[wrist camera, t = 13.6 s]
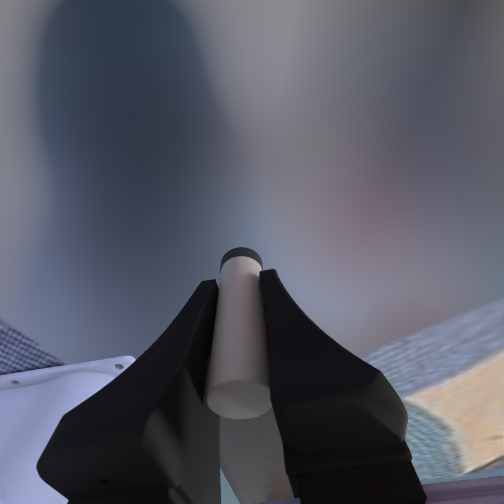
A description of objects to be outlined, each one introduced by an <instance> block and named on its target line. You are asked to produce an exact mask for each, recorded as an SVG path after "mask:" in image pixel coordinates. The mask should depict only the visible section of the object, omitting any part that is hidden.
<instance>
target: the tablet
mask: <svg viewBox="0 0 504 504" xmlns="http://www.w3.org/2000/svg"><path fill="white" fill-rule="evenodd" d="M220 468H221V469H222V471H223V473H224V475H225V477H226V478H227V480H228V482H229V484H230V486H231V487H232V490H233V491H234V493H235V495H236V497H237V499H238V500H239V502H240V504H250V503H259V502H268V501H278V500H287V499H294V496H293V492H292V489H291V485H290V482H289V478H288V475H286V471H285V463H284V454H283V445H282V440H281V437H280V433H279V429H278V426H277V422H276V419H275V415H274V411H273V408H272V407H271V408H270V409H269V410H268V411H267V412H266V413H264V414H262V415H260V416H257V417H253V418H248V419H231V418H226V417H223V416H220Z"/></svg>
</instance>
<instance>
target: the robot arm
mask: <svg viewBox="0 0 504 504" xmlns="http://www.w3.org/2000/svg"><path fill="white" fill-rule="evenodd" d="M259 282H260V286H261V290H262V295H263V299H264V304H265V308H266V313H267V320H268V336H269V359H270V400H271V404H272V408H273V411H274V415H275V419H276V422H277V426H278V429H279V433H280V437H281V440H282V445H283V454H284V463H285V471H286V475H288V478H289V482H290V485H291V489H292V492H293V496H294V499H287V500H278V501H268V502H259V503H250V504H504V476H497V477H489V478H480V479H471V480H462V481H452V482H442V483H433V484H424V485H421V483H420V480H419V478H418V476H417V474H416V471H415V469H414V467H413V465H412V462H411V460H412V456H411V453H410V450H409V448H408V446H407V444H406V442H405V434H406V428H407V422H408V415H407V411H406V409H405V407H404V405H403V403H402V401H401V399H400V398H399V396H398V395H397V393H396V391H395V390H394V389H393V387H392V386H391V384H390V383H389V381H388V380H387V379H386V378H385V376H384V375H383V374H382V372H381V371H380V370H378V369H376V368H375V367H373V366H371V365H369V364H368V363H366V362H365V361H363V360H361V359H360V358H358V357H357V356H355V355H354V354H352V353H351V352H349V351H348V350H346V349H345V348H343V347H342V346H341V345H340V344H338V343H337V342H336V341H335V340H333V339H332V338H331V337H330V336H328V335H327V334H326V333H325V332H323V331H322V330H321V329H320V328H319V327H318V326H317V325H316V324H315V323H314V322H313V321H311V319H310V318H309V317H308V316H307V315H306V314H305V313H304V312H303V311H302V310H301V309H300V308H299V306H298V305H297V304H296V303H295V301H294V300H293V299H292V298H291V296H290V295H289V293H288V292H287V291H286V289H285V288H284V286H283V284H282V283H281V281H280V279H279V277H278V275H277V272H276V270H274V269H270V270H265V271H259ZM218 290H219V289H218V286H217V283H216V280H215V279H213V280H207V281H202V282H201V283H200V285H199V286H198V287H197V289H196V290H195V292H194V293H193V295H192V296H191V297H190V299H189V300H188V302H187V303H186V305H185V306H184V307H183V309H182V310H181V311H180V313H179V314H178V316H177V317H176V318H175V319H174V320H173V322H172V323H171V324H170V325H169V327H168V328H167V329H166V330H165V331H164V333H163V334H162V335H161V336H160V337H159V338H158V339H157V340H156V341H155V342H154V343H153V344H152V345H151V346H150V347H149V348H148V350H146V351H145V352H144V353H143V354H142V355H141V356H140V357H139V358H138V359H137V360H136V359H135V358H134V357H132V356H120V357H114V358H108V359H101V360H95V361H89V362H82V363H76V364H70V365H63V366H57V367H50V368H44V369H38V370H31V371H25V372H18V373H12V374H6V375H0V504H221V487H220V415H218V414H216V413H214V412H213V411H212V410H211V409H210V408H209V407H208V405H207V402H206V393H207V385H208V376H209V367H210V359H211V350H212V342H213V333H214V324H215V316H216V307H217V299H218Z"/></svg>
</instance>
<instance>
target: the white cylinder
mask: <svg viewBox="0 0 504 504" xmlns="http://www.w3.org/2000/svg"><path fill="white" fill-rule="evenodd" d="M259 271H263V267H262V260H261V258H260V257H259V255H258V254H257V253H256V252H255V251H253V250H251V249H249V248H243V247H239V248H234V249H232V250H230V251H228V252H227V253H226V254H225V255H224V256H223V258H222V261H221V267H220V281H219V290H218V299H217V307H216V316H215V324H214V333H213V342H212V350H211V359H210V367H209V376H208V385H207V393H206V402H207V405H208V407H209V408H210V409H211V410H212V411H213V412H214V413H216V414H218V415H220V416H223V417H226V418H231V419H248V418H253V417H257V416H260V415H262V414H264V413H266V412H267V411H268V410H269V409H270V408H271V407H272V404H271V400H270V359H269V336H268V322H267V313H266V308H265V304H264V299H263V295H262V290H261V286H260V282H259Z"/></svg>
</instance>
